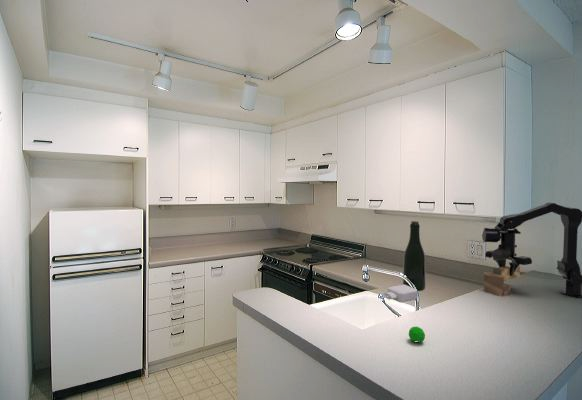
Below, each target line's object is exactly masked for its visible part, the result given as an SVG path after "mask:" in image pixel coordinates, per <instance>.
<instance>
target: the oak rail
mask: <svg viewBox="0 0 582 400" xmlns="http://www.w3.org/2000/svg"><path fill="white" fill-rule="evenodd" d="M520 271H521V266H520V265H519V266H518V267H517V269H516V271H515V272H514V274H513V276H510V265H505V266H504V267H499V266H498V267H494V268H492V273H493V274H497V275H501V276H505V278H504V281H507V280H512V279H516V278H520V275H521V274H520V273H521V272H520Z"/></svg>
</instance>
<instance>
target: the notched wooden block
mask: <svg viewBox="0 0 582 400" xmlns="http://www.w3.org/2000/svg"><path fill="white" fill-rule="evenodd" d="M483 275H484V277H483V278H484V281H483V292H487V293H491V294H493V295H496V296H499V297H504V296H509V295H511V284H509V283H505V280H504V278H505V276H501V275H497V274H493V272H490V271H484V272H483Z"/></svg>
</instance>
